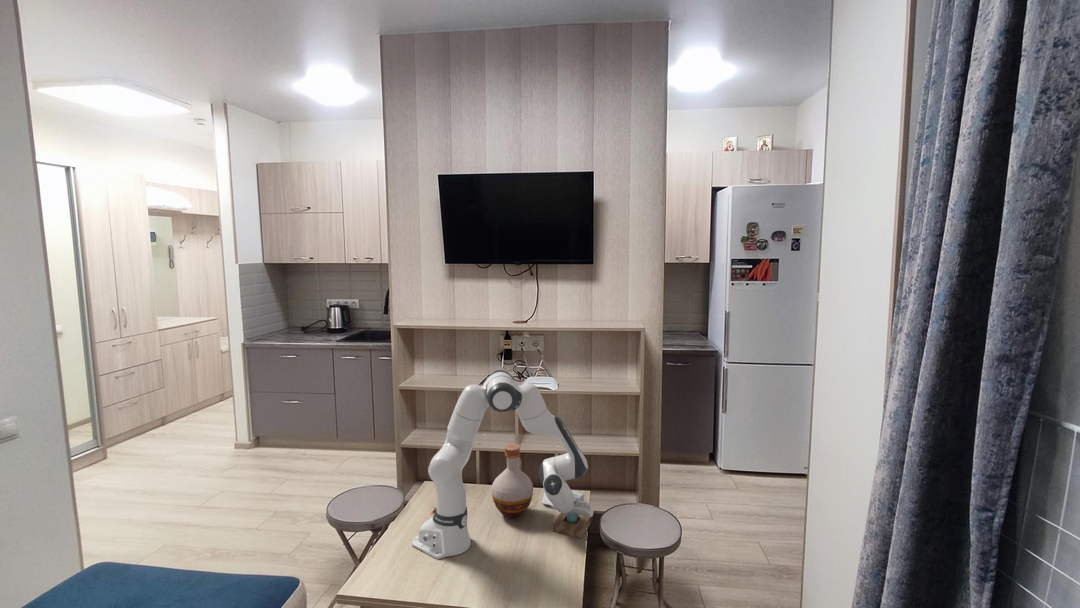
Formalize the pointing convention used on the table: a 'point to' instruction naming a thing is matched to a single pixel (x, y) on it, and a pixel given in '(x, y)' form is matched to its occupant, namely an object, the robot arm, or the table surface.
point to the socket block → (571, 525)
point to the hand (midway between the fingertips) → (572, 512)
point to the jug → (512, 486)
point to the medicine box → (578, 496)
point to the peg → (572, 518)
